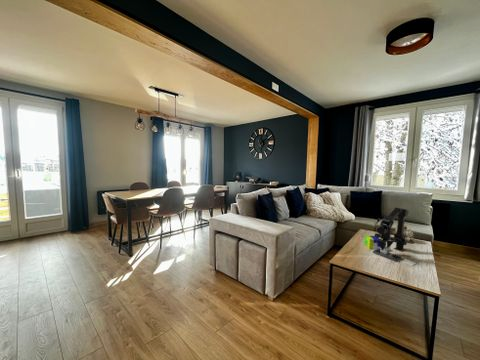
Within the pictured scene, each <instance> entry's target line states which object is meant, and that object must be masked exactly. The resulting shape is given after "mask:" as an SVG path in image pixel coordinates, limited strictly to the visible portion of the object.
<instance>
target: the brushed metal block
mask: <svg viewBox="0 0 480 360" xmlns="http://www.w3.org/2000/svg"><path fill="white" fill-rule="evenodd" d="M390 251H391V246H390V247H388V246H387V245H386V246H385V248H384V250H381V249H380V253H382V254H385V255H389V254H390V253H391V252H390Z"/></svg>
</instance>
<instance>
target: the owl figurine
mask: <svg viewBox="0 0 480 360" xmlns="http://www.w3.org/2000/svg"><path fill="white" fill-rule="evenodd" d="M392 233H393V235H394V234H396V233H397V226H396V227H395V231H392ZM403 234H404V235H405V239H406V241H407V244H415V241H414V240H415V237H414V231H412V230H411V228H408V227H407V225H406V224H404V232H403Z"/></svg>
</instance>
